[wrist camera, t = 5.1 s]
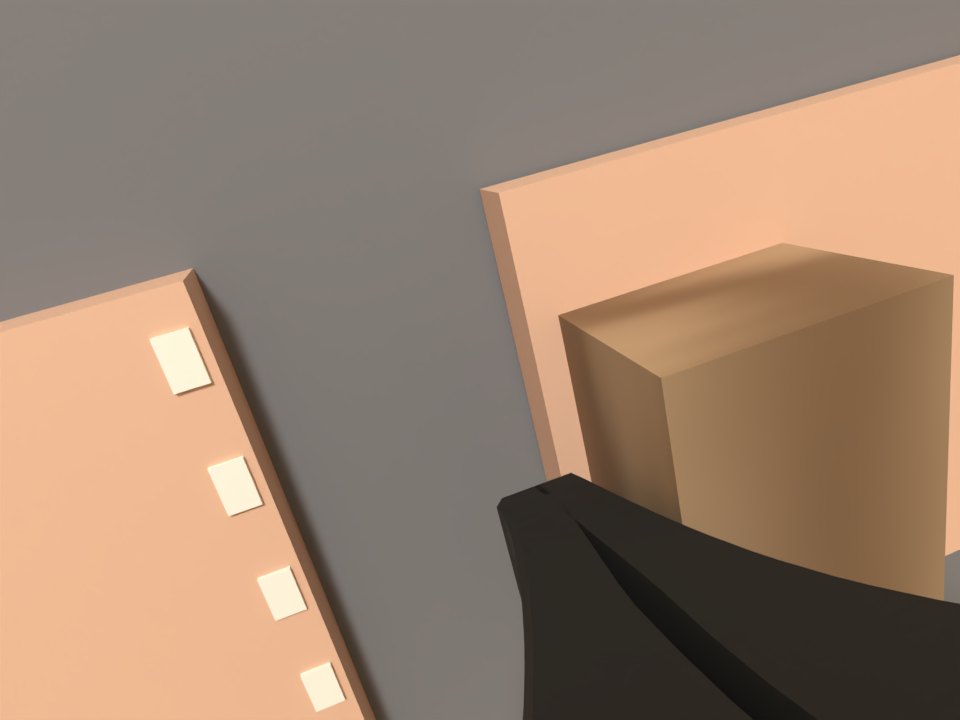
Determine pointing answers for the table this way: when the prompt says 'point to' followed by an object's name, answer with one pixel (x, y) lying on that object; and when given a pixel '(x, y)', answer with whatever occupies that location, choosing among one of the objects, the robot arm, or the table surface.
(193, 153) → the mat
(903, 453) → the peach square slab
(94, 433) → the ticket
